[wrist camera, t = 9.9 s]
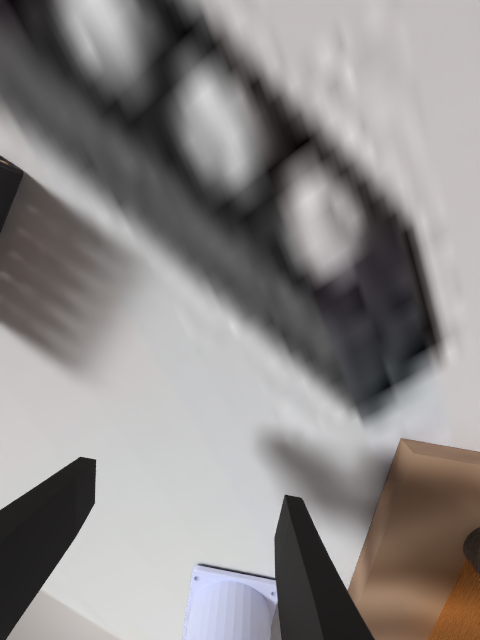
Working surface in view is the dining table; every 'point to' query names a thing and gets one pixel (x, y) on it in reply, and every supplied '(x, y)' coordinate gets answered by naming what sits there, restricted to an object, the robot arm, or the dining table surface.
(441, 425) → the dining table surface
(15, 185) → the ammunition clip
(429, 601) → the walnut board
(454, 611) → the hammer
